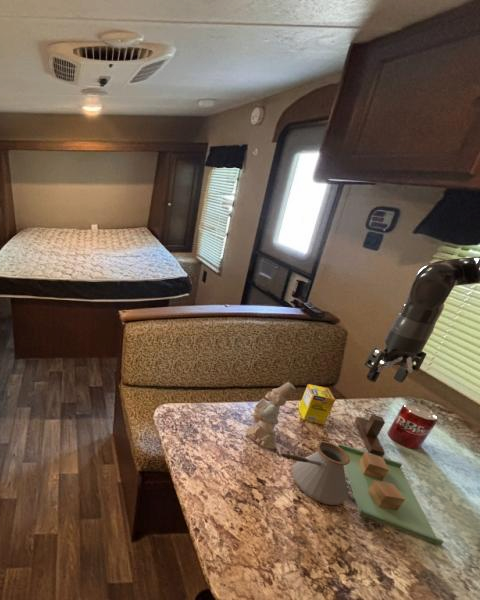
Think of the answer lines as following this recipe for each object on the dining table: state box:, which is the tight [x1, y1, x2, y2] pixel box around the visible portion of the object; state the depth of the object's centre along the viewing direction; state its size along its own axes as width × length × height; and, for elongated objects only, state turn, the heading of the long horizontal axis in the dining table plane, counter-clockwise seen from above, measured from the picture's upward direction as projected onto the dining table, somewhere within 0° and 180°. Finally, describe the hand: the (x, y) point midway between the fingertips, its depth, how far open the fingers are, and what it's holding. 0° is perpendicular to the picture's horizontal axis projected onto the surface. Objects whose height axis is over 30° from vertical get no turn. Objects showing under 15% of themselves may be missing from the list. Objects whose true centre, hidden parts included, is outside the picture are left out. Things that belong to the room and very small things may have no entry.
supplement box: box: [298, 383, 336, 426], centre depth 101 cm, size 6×6×11 cm
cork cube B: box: [368, 481, 405, 510], centre depth 76 cm, size 4×4×4 cm
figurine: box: [245, 381, 297, 450], centre depth 91 cm, size 9×8×20 cm
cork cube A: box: [359, 451, 389, 480], centre depth 83 cm, size 4×4×4 cm
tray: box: [337, 443, 444, 546], centre depth 80 cm, size 14×22×2 cm, turn 154°
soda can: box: [386, 403, 438, 451], centre depth 93 cm, size 7×7×12 cm
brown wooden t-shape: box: [354, 414, 386, 457], centre depth 93 cm, size 3×14×9 cm, turn 154°
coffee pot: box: [274, 440, 350, 506], centre depth 76 cm, size 21×12×15 cm, turn 100°
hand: (384, 380), depth 92 cm, fingers open, 8 cm apart
